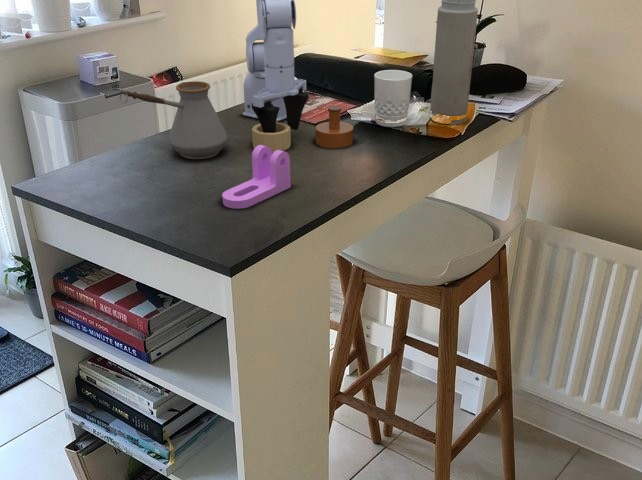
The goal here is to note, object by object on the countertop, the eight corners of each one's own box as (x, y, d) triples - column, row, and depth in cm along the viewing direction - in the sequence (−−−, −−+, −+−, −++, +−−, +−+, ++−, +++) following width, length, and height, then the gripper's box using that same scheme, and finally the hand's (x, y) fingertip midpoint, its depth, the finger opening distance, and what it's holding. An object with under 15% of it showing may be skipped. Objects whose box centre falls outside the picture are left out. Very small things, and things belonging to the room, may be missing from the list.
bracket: (267, 179, 137) (265, 142, 133) (290, 187, 134) (289, 149, 130) (216, 202, 129) (212, 163, 125) (239, 211, 126) (236, 171, 122)
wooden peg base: (308, 143, 152) (307, 109, 148) (329, 133, 157) (329, 99, 153) (339, 151, 149) (339, 116, 145) (360, 140, 154) (361, 106, 150)
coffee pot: (204, 138, 155) (196, 62, 147) (240, 151, 149) (235, 73, 140) (115, 166, 143) (102, 85, 134) (151, 182, 136) (140, 98, 128)
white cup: (410, 128, 159) (413, 80, 154) (373, 128, 160) (375, 80, 154) (407, 116, 166) (410, 69, 160) (371, 116, 166) (373, 69, 160)
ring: (245, 147, 151) (244, 129, 149) (269, 137, 156) (268, 119, 154) (274, 154, 147) (274, 136, 145) (297, 144, 152) (297, 126, 150)
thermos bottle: (467, 114, 167) (481, -26, 151) (465, 125, 160) (480, -19, 144) (430, 112, 168) (441, -27, 152) (427, 123, 162) (439, -20, 146)
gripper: (271, 76, 138) (274, 148, 146) (318, 59, 148) (318, 128, 156) (242, 70, 142) (247, 141, 149) (289, 54, 151) (291, 121, 159)
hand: (281, 134), depth 153 cm, fingers open, 7 cm apart
